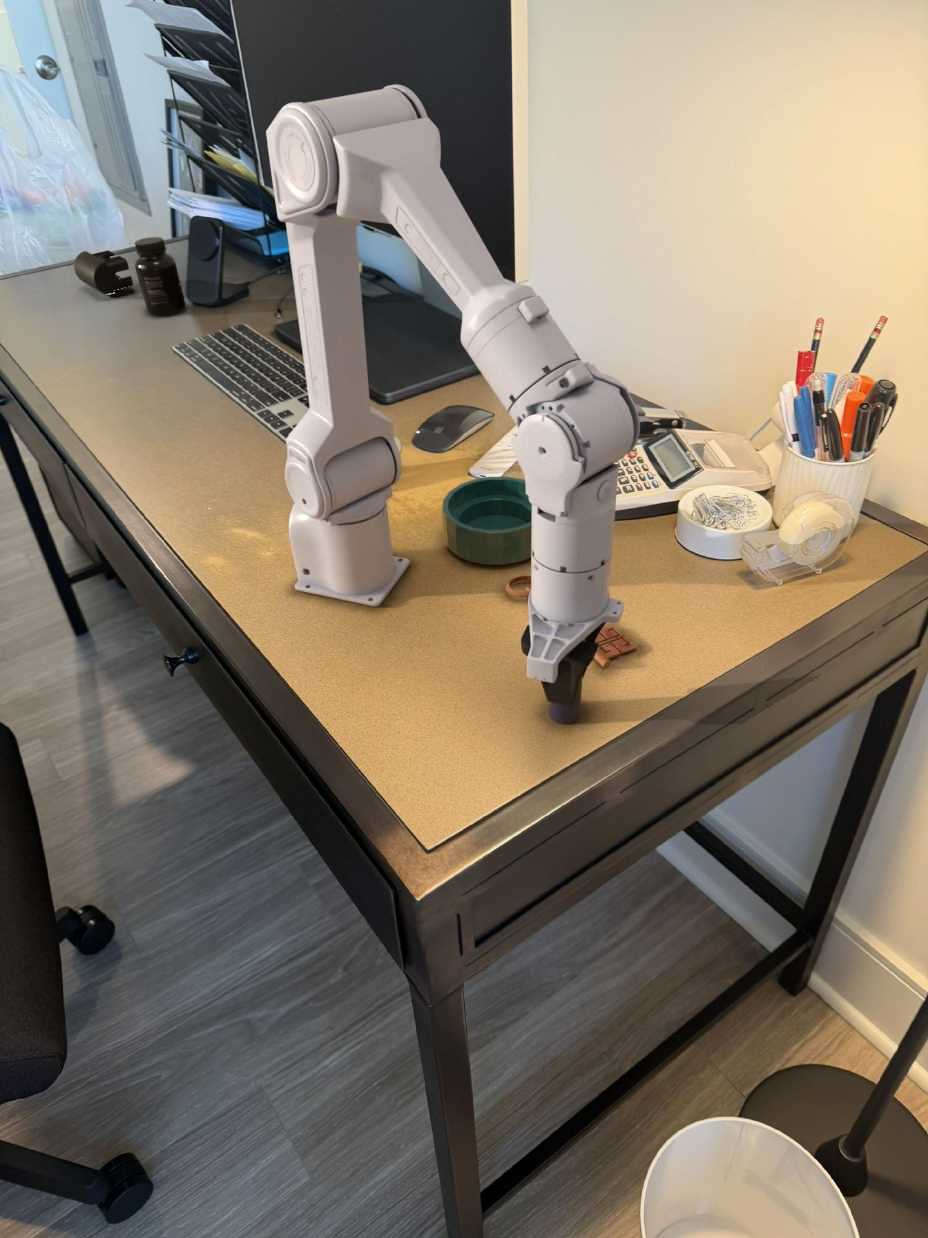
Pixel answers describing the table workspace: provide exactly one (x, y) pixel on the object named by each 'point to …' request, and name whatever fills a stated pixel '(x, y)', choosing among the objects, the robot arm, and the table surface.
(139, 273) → the supplement bottle
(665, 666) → the table surface
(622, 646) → the key
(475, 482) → the bowl
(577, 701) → the glue stick
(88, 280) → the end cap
